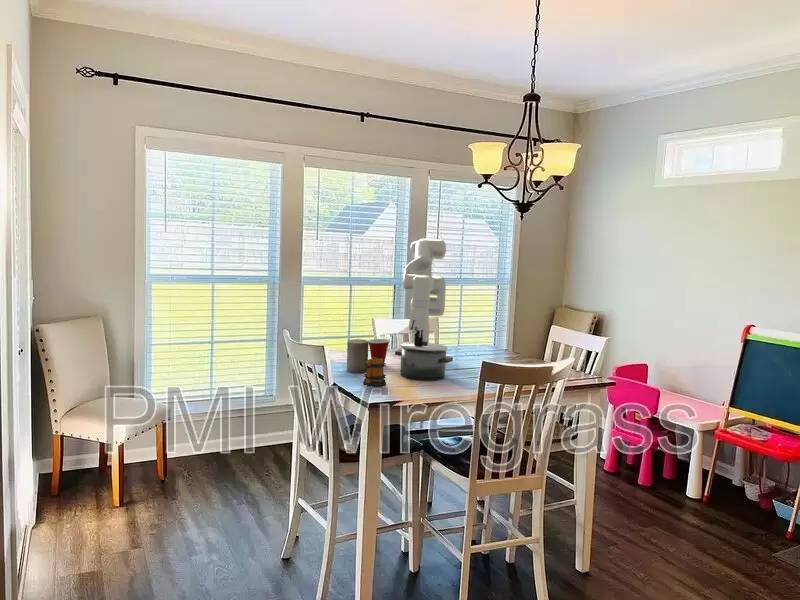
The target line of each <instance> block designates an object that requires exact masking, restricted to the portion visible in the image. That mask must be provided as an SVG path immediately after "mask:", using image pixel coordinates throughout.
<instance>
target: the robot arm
mask: <svg viewBox="0 0 800 600" xmlns="http://www.w3.org/2000/svg"><path fill="white" fill-rule="evenodd" d="M409 250H410V254H411V258H412V261H410V262H409V263H408V264H407V265H406V266H405V268H404V270H403V275H402V288H403V289H404V290H405V291H408V292H412V295H411V296H412V297H411V300H410V303H409V306H410V307H409V309H410V312H409V313H410V316H409V323H408V329H409V330H410V333H409V335H410V336H409V342H414V346H419V347H421V346H422V345H423V341H427V342H428V343H430V342H429V341H430V326H431V325H430V323H429V322H430V321H429V319H430V317H441V316H444V314H445V309H446V284H447V283H446V279H445V278H444V276H439V275H433V274H432V272H433V271H432V269H433V268H432V267H433V260H442V259H444V258H445V256H446V253H447V244H446V242H445V241H444V240H443V239H437V238H420V239H419V240H416V241H413V242H411V243H410V249H409ZM430 295H432V297H431V296H430ZM433 295H434V296H435V297H434V296H433Z"/></svg>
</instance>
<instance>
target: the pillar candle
mask: <svg viewBox="0 0 800 600" xmlns="http://www.w3.org/2000/svg"><path fill="white" fill-rule="evenodd" d="M346 341H347V348H346V350H347V351H346V371H347V372H349V373H354V374H358V373H359V374H360V373H367V366H366V365H365V364H366V361H367V360H369V343H368V340H367V339H359V338H358V339H354V338H353V339H349V340H346Z"/></svg>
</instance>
